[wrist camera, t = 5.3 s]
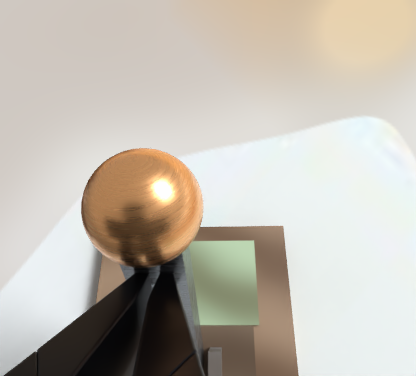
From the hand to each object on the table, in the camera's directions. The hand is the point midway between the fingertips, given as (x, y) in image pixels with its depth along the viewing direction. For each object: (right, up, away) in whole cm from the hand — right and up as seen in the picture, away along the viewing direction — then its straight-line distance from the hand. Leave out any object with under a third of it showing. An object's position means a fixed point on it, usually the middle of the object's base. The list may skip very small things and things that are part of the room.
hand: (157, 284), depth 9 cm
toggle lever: (0, -6, +6) cm, 9 cm away
